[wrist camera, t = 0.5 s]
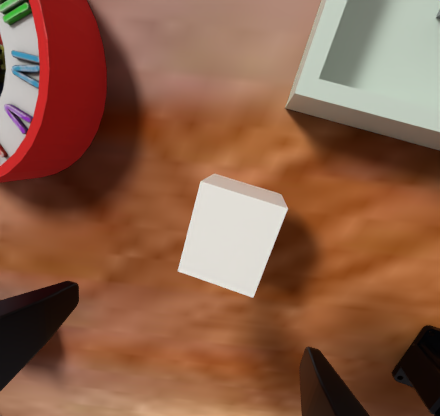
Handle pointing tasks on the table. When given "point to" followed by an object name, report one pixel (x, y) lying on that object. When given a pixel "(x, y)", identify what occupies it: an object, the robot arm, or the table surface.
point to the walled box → (374, 68)
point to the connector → (232, 233)
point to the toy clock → (48, 85)
